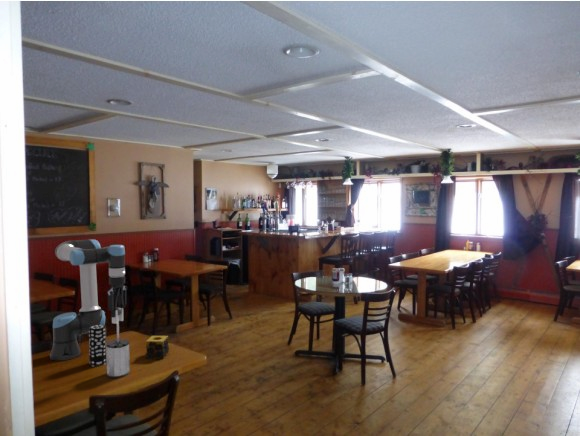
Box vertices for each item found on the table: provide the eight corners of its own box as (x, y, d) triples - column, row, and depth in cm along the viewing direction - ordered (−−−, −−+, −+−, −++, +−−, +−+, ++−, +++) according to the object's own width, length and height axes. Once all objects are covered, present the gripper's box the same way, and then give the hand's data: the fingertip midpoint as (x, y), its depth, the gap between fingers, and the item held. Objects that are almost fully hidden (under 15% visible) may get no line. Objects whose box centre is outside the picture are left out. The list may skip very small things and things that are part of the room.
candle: (163, 359, 233) (163, 341, 233) (145, 359, 233) (145, 341, 233) (169, 352, 243) (169, 335, 243) (151, 352, 244) (151, 335, 243)
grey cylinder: (102, 376, 210) (102, 345, 209) (119, 366, 223) (118, 336, 222) (121, 379, 207) (120, 347, 207) (136, 368, 220) (136, 338, 219)
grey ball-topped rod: (106, 357, 210) (106, 308, 209) (116, 351, 218) (115, 305, 217) (120, 358, 209) (119, 309, 207) (129, 353, 216) (128, 306, 215)
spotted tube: (99, 367, 222) (99, 329, 221) (85, 365, 223) (85, 328, 223) (109, 361, 230) (109, 325, 229) (96, 359, 232) (95, 324, 231)
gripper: (112, 279, 202) (113, 327, 203) (133, 273, 219) (134, 317, 220) (99, 278, 204) (99, 326, 205) (121, 272, 220) (121, 316, 221)
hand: (117, 321), depth 212 cm, fingers closed on grey ball-topped rod, 4 cm apart
